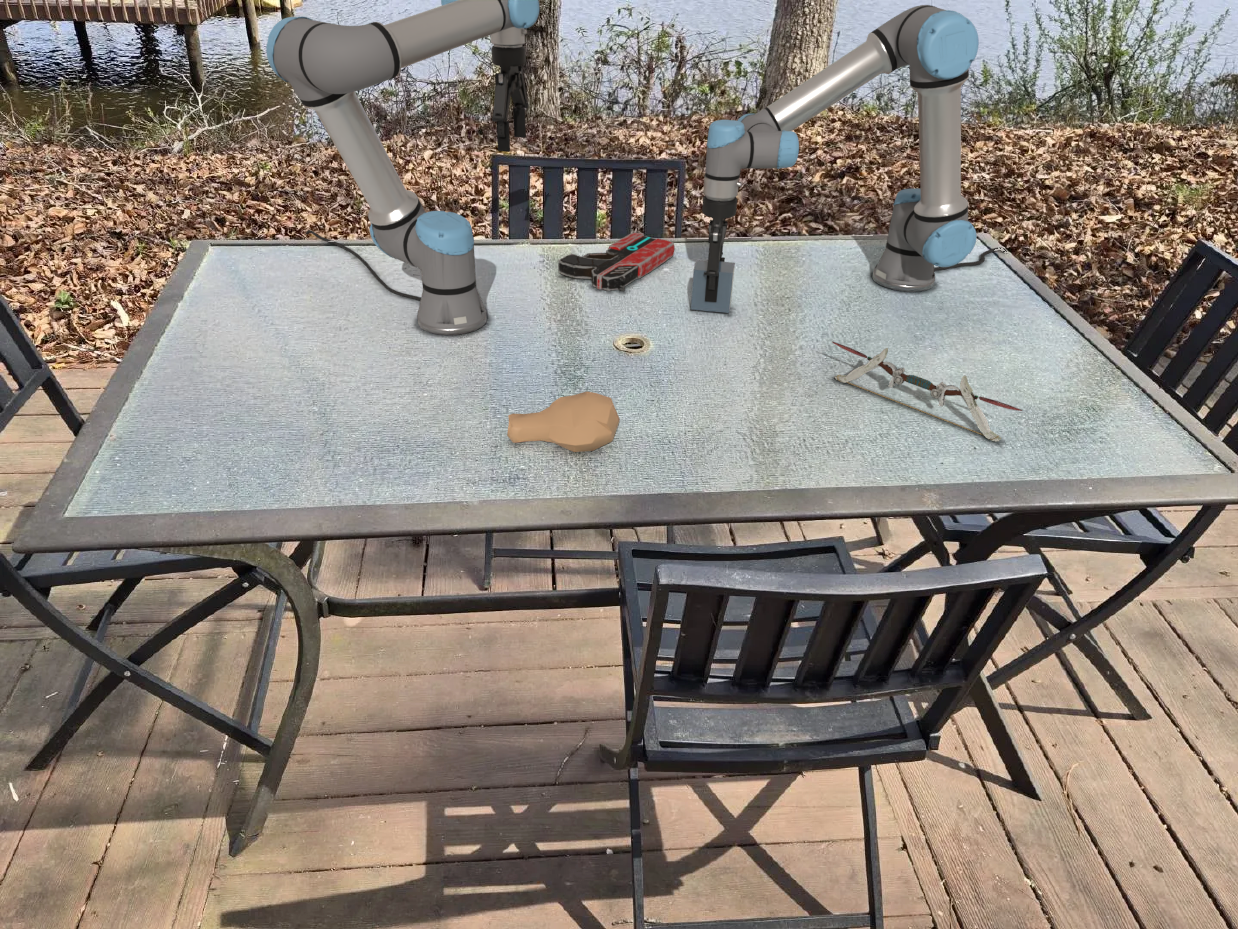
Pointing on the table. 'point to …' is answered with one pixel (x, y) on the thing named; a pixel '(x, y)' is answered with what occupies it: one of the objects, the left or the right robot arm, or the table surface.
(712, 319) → the table surface
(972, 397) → the bow
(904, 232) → the right robot arm
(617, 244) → the gun
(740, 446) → the table surface
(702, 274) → the grey rectangular block
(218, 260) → the table surface
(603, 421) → the squash
